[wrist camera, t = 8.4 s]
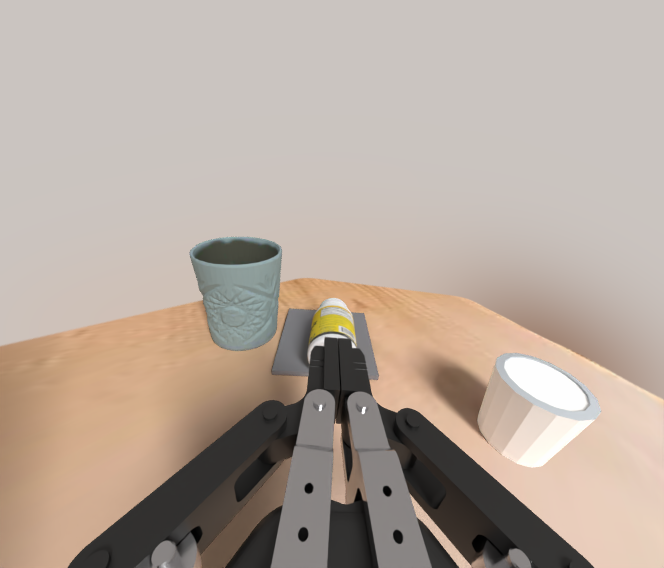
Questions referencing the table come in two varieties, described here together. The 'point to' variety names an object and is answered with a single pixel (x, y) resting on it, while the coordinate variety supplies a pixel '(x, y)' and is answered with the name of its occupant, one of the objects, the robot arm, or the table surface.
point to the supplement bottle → (331, 324)
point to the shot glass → (533, 409)
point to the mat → (297, 340)
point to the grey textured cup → (239, 289)
